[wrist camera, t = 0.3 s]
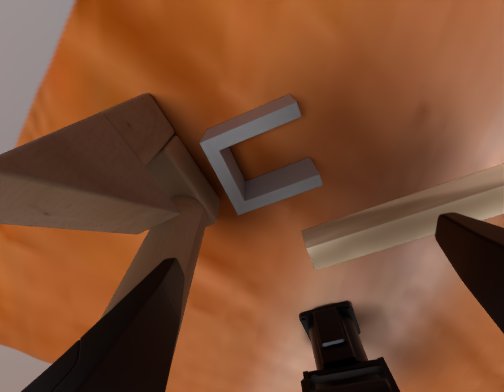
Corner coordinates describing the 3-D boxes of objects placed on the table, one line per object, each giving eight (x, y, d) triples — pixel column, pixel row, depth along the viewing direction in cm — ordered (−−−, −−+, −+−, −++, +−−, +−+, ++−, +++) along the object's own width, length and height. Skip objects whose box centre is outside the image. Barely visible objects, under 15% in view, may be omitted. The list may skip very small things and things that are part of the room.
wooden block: (149, 90, 19) (-276, 265, 4) (222, 200, 24) (172, 479, 8) (112, 113, 20) (-370, 337, 4) (189, 215, 25) (88, 495, 9)
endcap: (206, 129, 21) (199, 143, 18) (289, 93, 19) (296, 101, 16) (239, 194, 24) (238, 215, 21) (312, 167, 22) (322, 185, 19)
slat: (540, 175, 24) (576, 191, 21) (309, 249, 28) (315, 270, 25) (544, 146, 22) (583, 159, 20) (300, 228, 26) (306, 248, 24)
